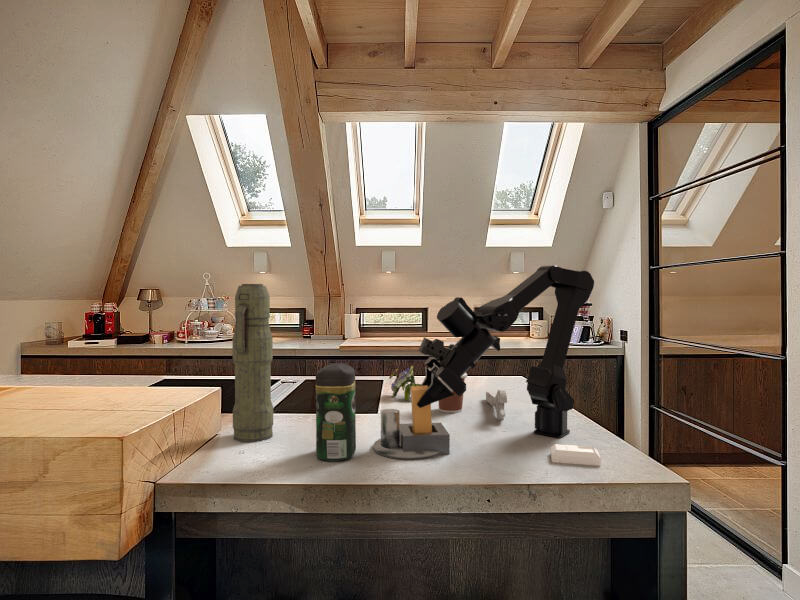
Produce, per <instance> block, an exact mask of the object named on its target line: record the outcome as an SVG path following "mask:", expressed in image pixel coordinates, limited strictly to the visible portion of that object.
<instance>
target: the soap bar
mask: <svg viewBox="0 0 800 600" xmlns="http://www.w3.org/2000/svg"><path fill="white" fill-rule="evenodd" d="M550 456H551V457H550V458H551V459H550V460H551V462H552V463H559V462H560V464H561V463H563V464H572V463H573V465H574V464H575V465H586V466H599V467H600V466H602V458H601V456H600V453H599V451H598V449H596V448H595V447H594V446H586V445H585V446H584V445H571V444H557V443H555V444H553V445H552V446H550Z"/></svg>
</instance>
